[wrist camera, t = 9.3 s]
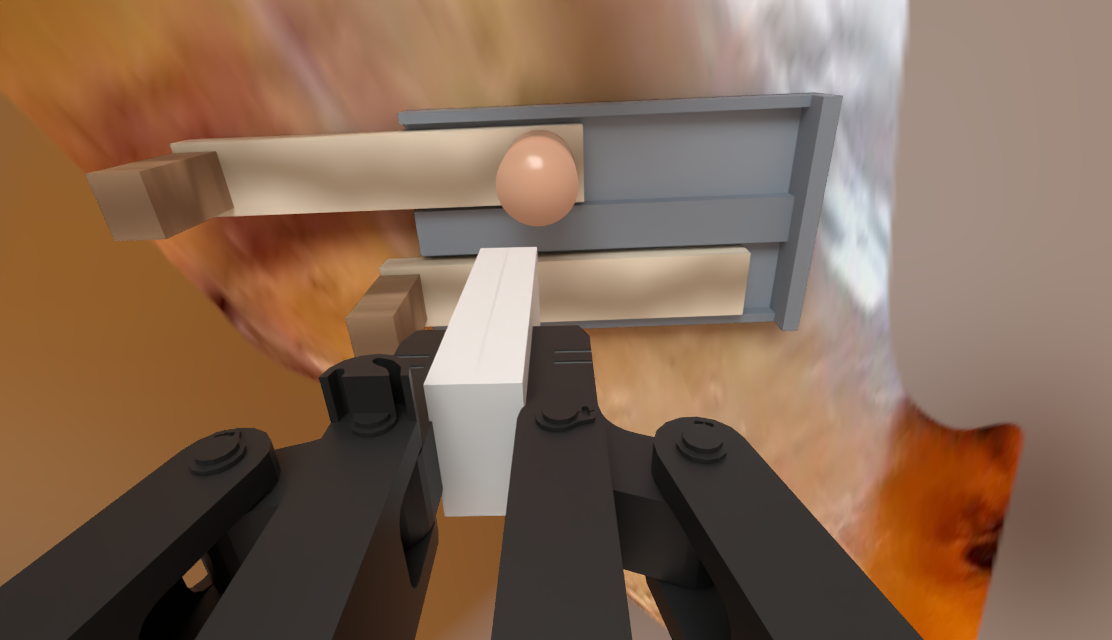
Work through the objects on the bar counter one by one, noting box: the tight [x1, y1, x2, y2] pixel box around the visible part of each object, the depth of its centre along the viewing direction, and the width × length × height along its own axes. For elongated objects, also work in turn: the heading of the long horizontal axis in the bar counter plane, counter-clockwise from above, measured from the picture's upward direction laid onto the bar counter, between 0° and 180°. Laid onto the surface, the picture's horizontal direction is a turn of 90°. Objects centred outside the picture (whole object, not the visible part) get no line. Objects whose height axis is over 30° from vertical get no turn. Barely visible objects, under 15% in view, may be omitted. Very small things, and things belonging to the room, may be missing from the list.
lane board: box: [397, 93, 843, 331], centre depth 32 cm, size 14×24×3 cm, turn 92°
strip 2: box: [345, 245, 751, 357], centre depth 31 cm, size 4×23×8 cm, turn 92°
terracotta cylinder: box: [496, 130, 579, 226], centre depth 27 cm, size 4×4×5 cm
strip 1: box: [85, 123, 584, 241], centre depth 27 cm, size 4×23×8 cm, turn 92°
